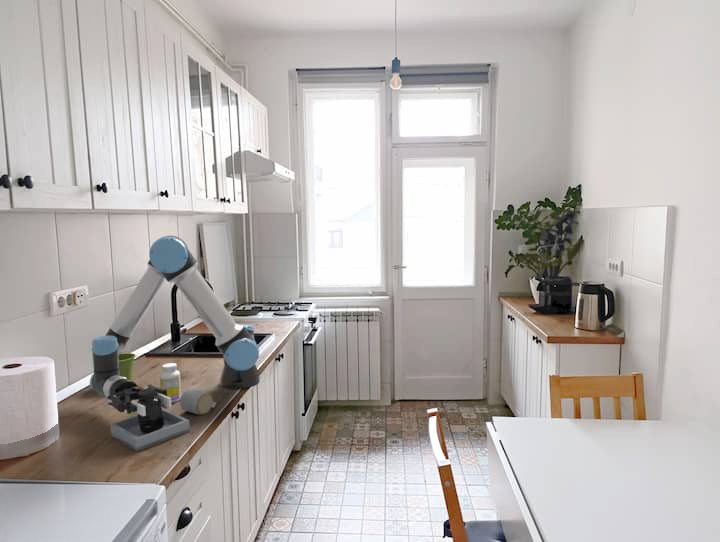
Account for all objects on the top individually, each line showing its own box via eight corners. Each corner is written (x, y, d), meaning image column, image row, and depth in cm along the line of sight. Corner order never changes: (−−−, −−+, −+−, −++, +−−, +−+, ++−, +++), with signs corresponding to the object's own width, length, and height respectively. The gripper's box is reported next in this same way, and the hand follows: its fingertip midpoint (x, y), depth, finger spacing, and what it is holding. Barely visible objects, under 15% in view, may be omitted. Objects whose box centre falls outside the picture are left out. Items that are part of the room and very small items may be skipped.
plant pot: (131, 378, 191) (129, 351, 190) (142, 385, 182) (140, 356, 181) (99, 385, 183) (97, 357, 181) (109, 393, 174) (107, 363, 173)
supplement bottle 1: (144, 423, 144) (139, 387, 142) (167, 421, 144) (162, 385, 142) (136, 435, 137) (130, 397, 135) (160, 432, 138) (154, 394, 136)
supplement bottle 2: (166, 396, 170) (164, 362, 169) (184, 396, 170) (182, 362, 169) (157, 403, 164) (155, 367, 162) (176, 403, 163) (174, 368, 162)
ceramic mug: (197, 419, 151) (197, 395, 150) (179, 414, 155) (179, 391, 154) (221, 407, 160) (221, 386, 159) (204, 403, 164) (203, 382, 163)
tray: (162, 417, 152) (161, 407, 151) (189, 431, 142) (189, 420, 141) (110, 435, 139) (110, 424, 139) (137, 451, 129) (136, 439, 129)
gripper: (151, 392, 159) (189, 408, 145) (88, 410, 143) (123, 431, 129) (150, 370, 158) (188, 385, 144) (86, 387, 142) (121, 405, 128)
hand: (157, 406), depth 136 cm, fingers open, 7 cm apart
